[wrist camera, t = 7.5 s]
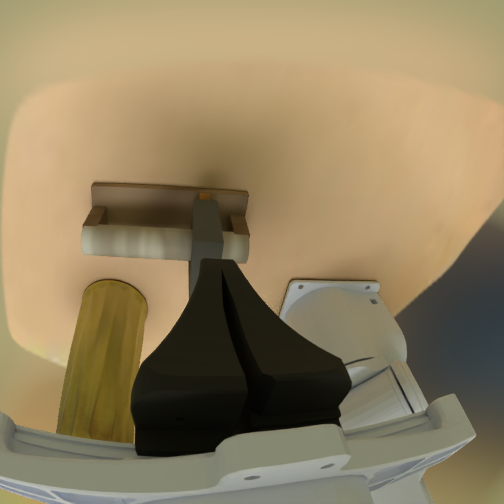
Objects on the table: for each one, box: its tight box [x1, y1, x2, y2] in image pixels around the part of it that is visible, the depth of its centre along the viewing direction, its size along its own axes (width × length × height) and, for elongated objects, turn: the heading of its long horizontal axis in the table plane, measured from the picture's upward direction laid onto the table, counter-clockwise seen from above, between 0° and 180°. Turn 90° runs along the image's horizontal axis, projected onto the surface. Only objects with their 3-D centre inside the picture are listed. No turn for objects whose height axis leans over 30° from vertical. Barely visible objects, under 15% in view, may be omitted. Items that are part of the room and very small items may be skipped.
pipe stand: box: [81, 183, 250, 263], centre depth 21 cm, size 11×5×4 cm, turn 80°
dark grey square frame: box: [189, 199, 224, 299], centre depth 20 cm, size 2×4×5 cm, turn 170°
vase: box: [56, 280, 148, 444], centre depth 21 cm, size 6×6×14 cm
